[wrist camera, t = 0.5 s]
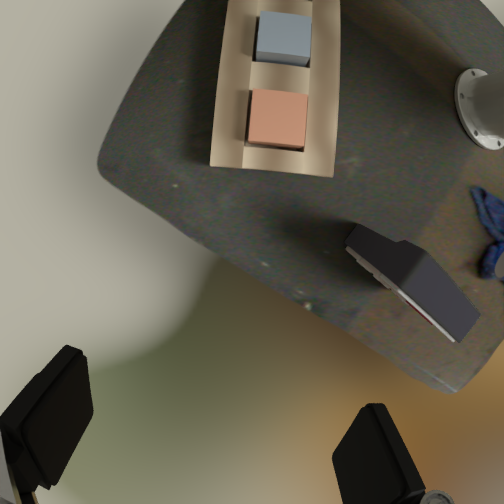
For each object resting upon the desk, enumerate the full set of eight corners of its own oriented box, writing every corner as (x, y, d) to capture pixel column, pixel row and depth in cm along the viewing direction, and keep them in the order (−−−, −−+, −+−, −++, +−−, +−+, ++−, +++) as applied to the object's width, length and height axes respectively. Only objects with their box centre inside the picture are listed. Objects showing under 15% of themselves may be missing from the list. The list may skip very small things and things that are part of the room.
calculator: (338, 246, 35) (392, 294, 21) (360, 218, 34) (426, 249, 20) (395, 293, 37) (455, 351, 22) (414, 268, 36) (482, 315, 21)
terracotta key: (302, 101, 27) (307, 94, 24) (298, 148, 28) (304, 146, 25) (252, 96, 27) (253, 88, 24) (248, 143, 28) (248, 140, 25)
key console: (329, -17, 26) (338, -37, 21) (321, 176, 33) (332, 177, 28) (238, -28, 25) (237, -49, 21) (215, 166, 33) (209, 165, 28)
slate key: (306, 29, 25) (311, 17, 22) (304, 67, 26) (310, 57, 23) (259, 23, 25) (260, 10, 22) (255, 61, 26) (256, 50, 23)
